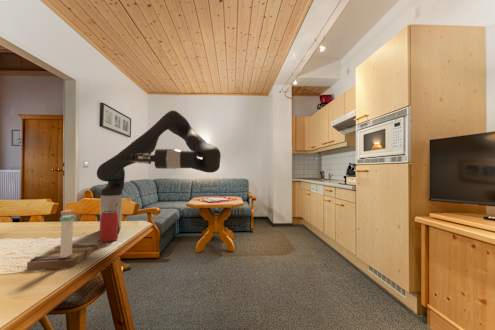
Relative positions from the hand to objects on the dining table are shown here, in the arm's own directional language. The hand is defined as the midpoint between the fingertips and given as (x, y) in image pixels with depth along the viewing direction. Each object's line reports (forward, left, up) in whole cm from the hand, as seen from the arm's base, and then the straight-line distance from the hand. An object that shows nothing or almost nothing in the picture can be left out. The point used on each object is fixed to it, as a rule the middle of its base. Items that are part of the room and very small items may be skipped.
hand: (120, 158), depth 89 cm
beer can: (-14, -8, -34) cm, 38 cm away
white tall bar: (0, -17, -31) cm, 36 cm away
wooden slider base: (+6, -14, -34) cm, 37 cm away
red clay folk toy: (-23, -10, -34) cm, 42 cm away
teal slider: (+12, -11, -31) cm, 35 cm away
